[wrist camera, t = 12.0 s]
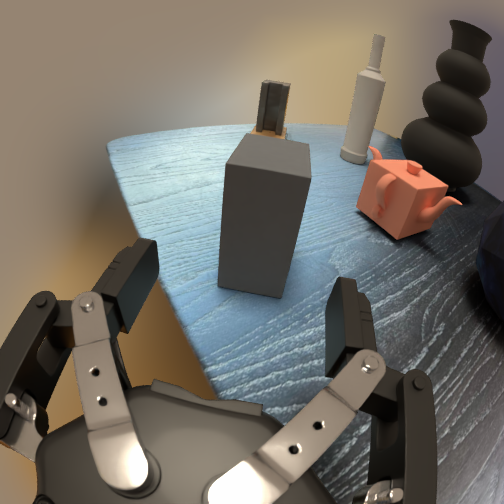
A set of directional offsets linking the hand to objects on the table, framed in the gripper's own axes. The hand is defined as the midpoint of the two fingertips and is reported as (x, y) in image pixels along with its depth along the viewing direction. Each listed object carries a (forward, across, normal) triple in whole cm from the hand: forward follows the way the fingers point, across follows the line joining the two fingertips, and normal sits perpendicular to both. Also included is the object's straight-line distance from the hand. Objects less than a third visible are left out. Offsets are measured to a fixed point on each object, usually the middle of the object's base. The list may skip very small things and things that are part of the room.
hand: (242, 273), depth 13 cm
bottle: (+45, -14, +8) cm, 48 cm away
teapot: (+23, -16, +8) cm, 29 cm away
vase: (+46, -32, +8) cm, 57 cm away
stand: (+46, +3, +8) cm, 47 cm away
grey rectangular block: (+10, 0, +8) cm, 13 cm away
